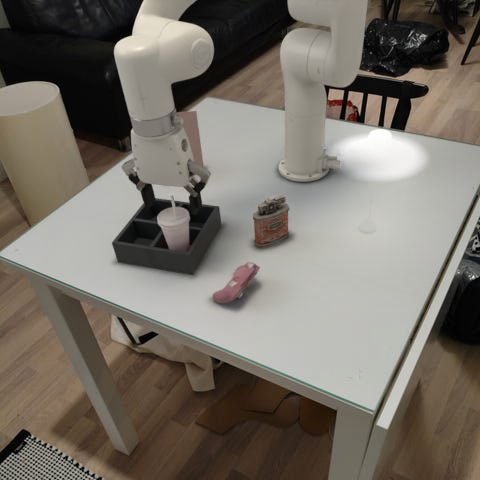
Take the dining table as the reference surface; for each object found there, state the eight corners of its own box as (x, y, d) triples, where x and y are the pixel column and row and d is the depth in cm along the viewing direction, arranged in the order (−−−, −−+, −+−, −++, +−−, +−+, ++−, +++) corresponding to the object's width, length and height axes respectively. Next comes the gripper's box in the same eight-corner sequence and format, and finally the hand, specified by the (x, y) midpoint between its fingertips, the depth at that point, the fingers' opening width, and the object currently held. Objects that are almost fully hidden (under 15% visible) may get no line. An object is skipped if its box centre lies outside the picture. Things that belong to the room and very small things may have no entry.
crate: (221, 225, 108) (219, 206, 104) (193, 275, 97) (189, 255, 93) (152, 216, 112) (148, 197, 109) (117, 262, 101) (111, 242, 98)
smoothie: (191, 265, 98) (180, 206, 87) (161, 263, 99) (147, 204, 89) (199, 246, 102) (190, 187, 92) (170, 244, 103) (158, 186, 93)
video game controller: (228, 314, 91) (240, 296, 85) (209, 299, 91) (219, 280, 85) (254, 283, 96) (267, 264, 90) (237, 269, 96) (248, 249, 90)
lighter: (259, 250, 101) (257, 210, 93) (251, 242, 103) (249, 202, 96) (292, 238, 103) (292, 197, 96) (283, 230, 105) (283, 189, 98)
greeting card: (204, 166, 126) (196, 109, 116) (203, 181, 121) (195, 123, 111) (160, 169, 127) (149, 113, 116) (158, 184, 122) (146, 126, 111)
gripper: (210, 114, 80) (222, 201, 92) (119, 108, 84) (141, 192, 97) (193, 135, 75) (208, 225, 88) (98, 128, 80) (124, 214, 92)
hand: (173, 207), depth 92 cm, fingers open, 9 cm apart
